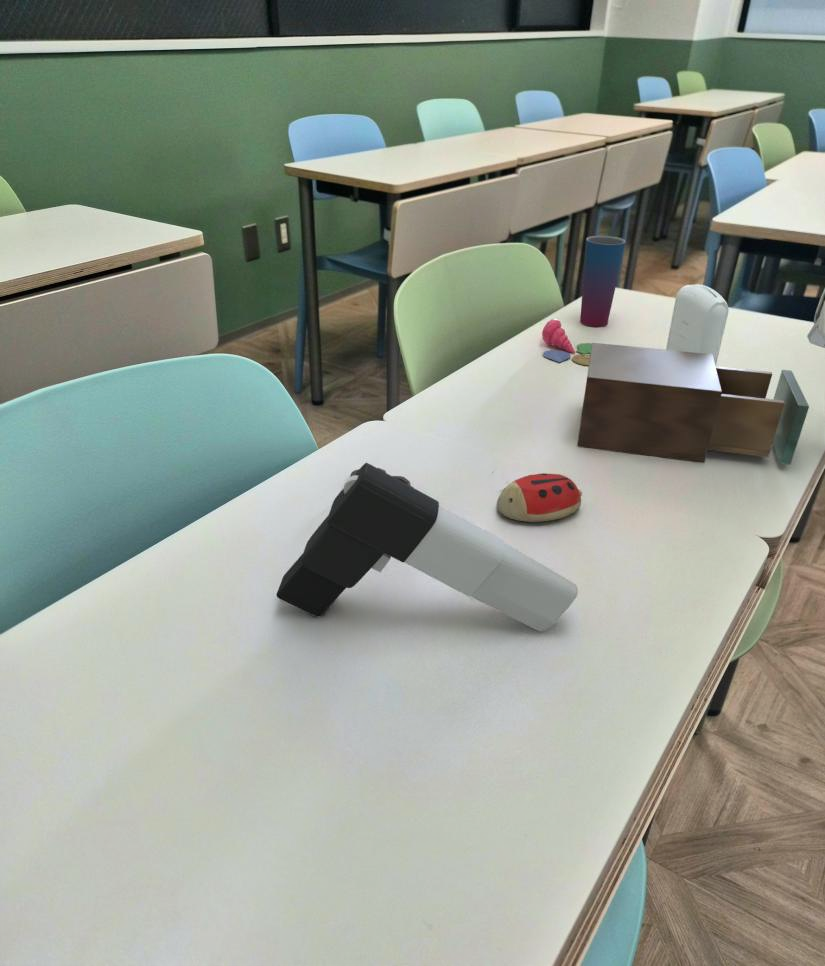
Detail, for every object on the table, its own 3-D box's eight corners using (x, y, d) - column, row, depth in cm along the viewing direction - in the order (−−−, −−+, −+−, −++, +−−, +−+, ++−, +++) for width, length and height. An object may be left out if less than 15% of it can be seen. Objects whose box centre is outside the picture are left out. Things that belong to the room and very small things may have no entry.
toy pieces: (523, 354, 122) (526, 329, 119) (552, 336, 130) (555, 312, 127) (591, 371, 116) (595, 344, 114) (617, 350, 124) (621, 325, 122)
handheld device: (284, 572, 67) (360, 452, 60) (485, 672, 72) (578, 571, 65) (273, 600, 64) (353, 476, 57) (485, 703, 68) (583, 600, 61)
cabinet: (697, 419, 101) (712, 354, 96) (704, 462, 91) (722, 391, 86) (582, 406, 104) (592, 342, 100) (577, 446, 94) (587, 376, 89)
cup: (605, 331, 132) (618, 246, 125) (569, 324, 135) (580, 241, 128) (617, 321, 137) (630, 238, 129) (582, 314, 140) (594, 234, 133)
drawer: (785, 425, 98) (801, 371, 94) (801, 466, 88) (820, 407, 84) (663, 411, 101) (674, 358, 97) (666, 449, 92) (678, 392, 88)
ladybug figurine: (486, 500, 83) (488, 473, 81) (563, 486, 85) (567, 460, 84) (512, 532, 77) (514, 504, 75) (593, 516, 80) (598, 489, 78)
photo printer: (661, 352, 123) (675, 279, 117) (684, 350, 124) (699, 277, 118) (693, 375, 115) (711, 297, 108) (718, 373, 116) (737, 296, 109)
